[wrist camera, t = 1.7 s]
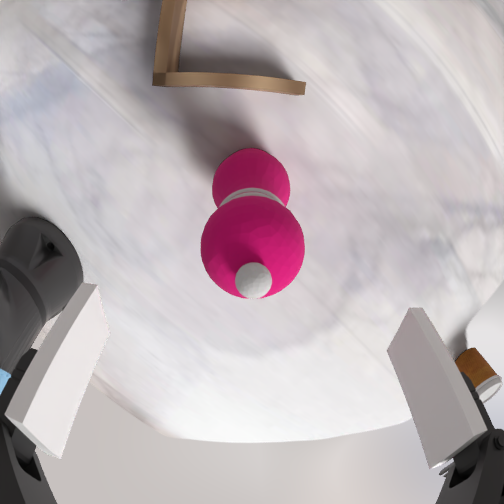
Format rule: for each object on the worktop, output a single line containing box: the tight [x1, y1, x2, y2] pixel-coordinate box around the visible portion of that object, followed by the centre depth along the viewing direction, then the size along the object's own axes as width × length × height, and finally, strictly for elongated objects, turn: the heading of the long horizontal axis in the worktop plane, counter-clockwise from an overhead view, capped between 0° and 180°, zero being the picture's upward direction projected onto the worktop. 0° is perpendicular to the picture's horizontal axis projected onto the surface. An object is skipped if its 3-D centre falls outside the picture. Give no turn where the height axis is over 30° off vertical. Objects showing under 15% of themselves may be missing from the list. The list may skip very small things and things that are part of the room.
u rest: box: [152, 0, 306, 95], centre depth 21 cm, size 13×13×4 cm
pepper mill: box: [201, 148, 305, 299], centre depth 22 cm, size 7×7×20 cm
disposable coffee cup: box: [455, 348, 502, 404], centre depth 44 cm, size 10×10×12 cm
